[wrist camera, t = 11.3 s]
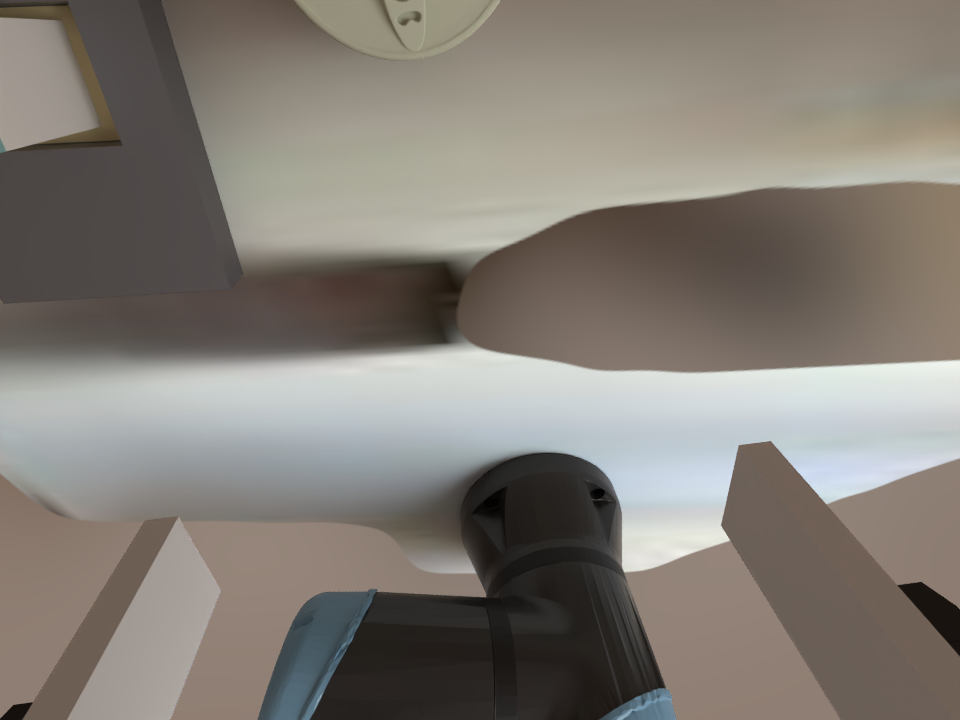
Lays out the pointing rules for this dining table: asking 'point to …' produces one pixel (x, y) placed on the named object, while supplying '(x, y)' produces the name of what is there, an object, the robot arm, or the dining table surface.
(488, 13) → the can
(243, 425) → the dining table surface
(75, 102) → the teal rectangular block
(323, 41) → the dining table surface
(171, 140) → the socket
